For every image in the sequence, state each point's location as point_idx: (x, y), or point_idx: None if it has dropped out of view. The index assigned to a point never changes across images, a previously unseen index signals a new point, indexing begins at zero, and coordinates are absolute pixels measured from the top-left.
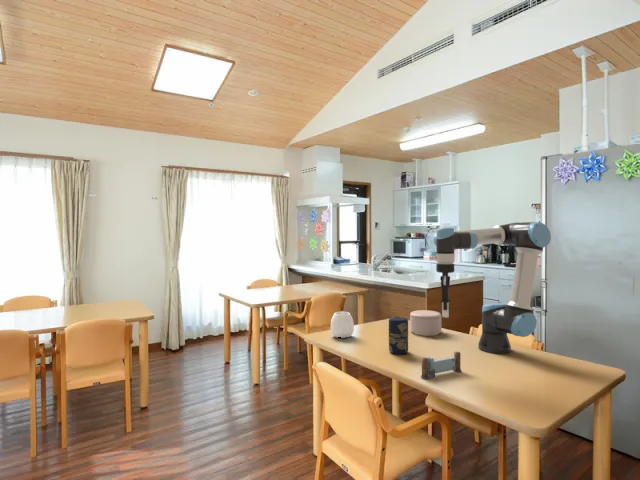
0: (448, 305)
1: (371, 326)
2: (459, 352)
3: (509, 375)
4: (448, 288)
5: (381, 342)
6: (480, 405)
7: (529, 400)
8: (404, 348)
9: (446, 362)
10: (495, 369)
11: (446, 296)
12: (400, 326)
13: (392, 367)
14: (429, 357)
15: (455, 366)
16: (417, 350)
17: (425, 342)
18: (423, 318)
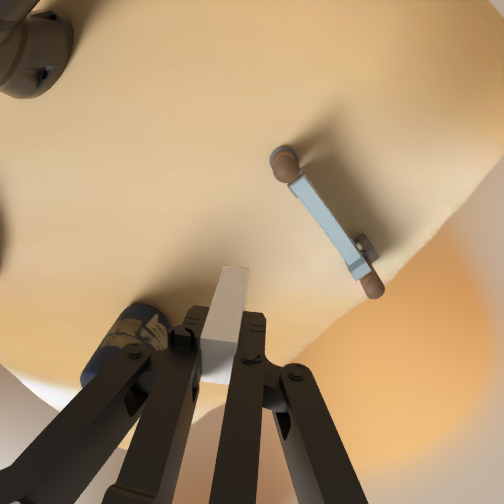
0: (239, 323)
1: (6, 356)
2: (283, 160)
3: (287, 7)
4: (79, 434)
5: (88, 354)
6: (501, 151)
7: (460, 30)
8: (158, 322)
9: (327, 208)
10: (234, 36)
11: (324, 422)
12: None
13: (286, 337)
14: (356, 275)
15: (302, 171)
16: (108, 275)
17: (35, 250)
18: None
